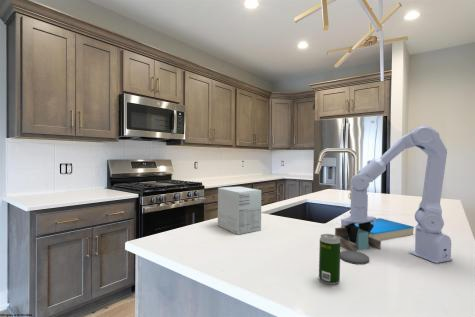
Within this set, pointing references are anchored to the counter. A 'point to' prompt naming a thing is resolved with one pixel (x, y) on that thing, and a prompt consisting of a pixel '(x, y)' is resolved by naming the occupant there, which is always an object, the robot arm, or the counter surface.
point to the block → (361, 239)
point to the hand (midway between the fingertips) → (358, 242)
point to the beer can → (329, 259)
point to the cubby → (350, 245)
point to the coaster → (354, 257)
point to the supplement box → (239, 209)
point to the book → (388, 229)
